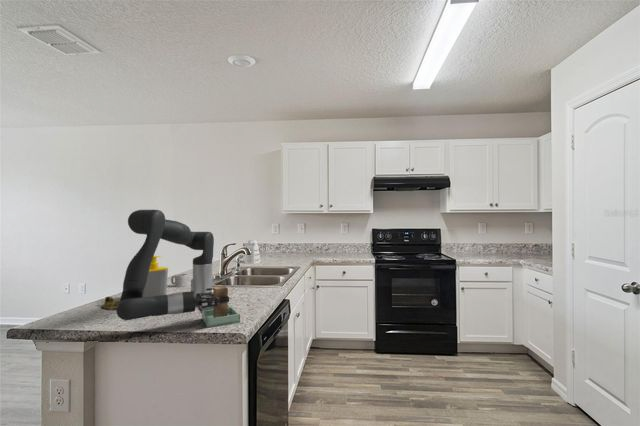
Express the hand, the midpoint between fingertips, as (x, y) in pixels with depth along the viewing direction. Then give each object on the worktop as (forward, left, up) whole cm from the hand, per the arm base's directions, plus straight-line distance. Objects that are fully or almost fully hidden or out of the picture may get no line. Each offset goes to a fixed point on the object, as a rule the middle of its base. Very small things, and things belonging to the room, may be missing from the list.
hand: (226, 297), depth 125 cm
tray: (-2, -2, -9) cm, 9 cm away
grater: (-65, +149, -9) cm, 163 cm away
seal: (-59, +3, -9) cm, 60 cm away
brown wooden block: (-2, -2, -8) cm, 8 cm away
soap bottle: (-54, +21, -9) cm, 59 cm away
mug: (-62, +49, -9) cm, 79 cm away
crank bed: (-14, +13, -9) cm, 21 cm away
